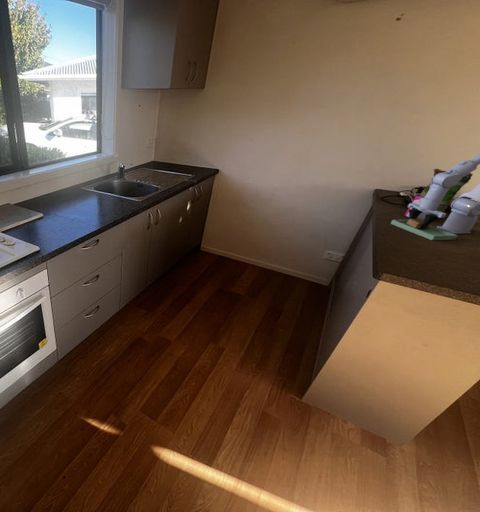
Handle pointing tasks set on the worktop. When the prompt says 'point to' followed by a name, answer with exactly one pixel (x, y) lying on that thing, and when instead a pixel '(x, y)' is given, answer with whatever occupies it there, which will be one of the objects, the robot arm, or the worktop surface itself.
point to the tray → (426, 231)
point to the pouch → (450, 192)
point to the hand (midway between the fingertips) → (416, 226)
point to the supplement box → (418, 201)
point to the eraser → (417, 223)
